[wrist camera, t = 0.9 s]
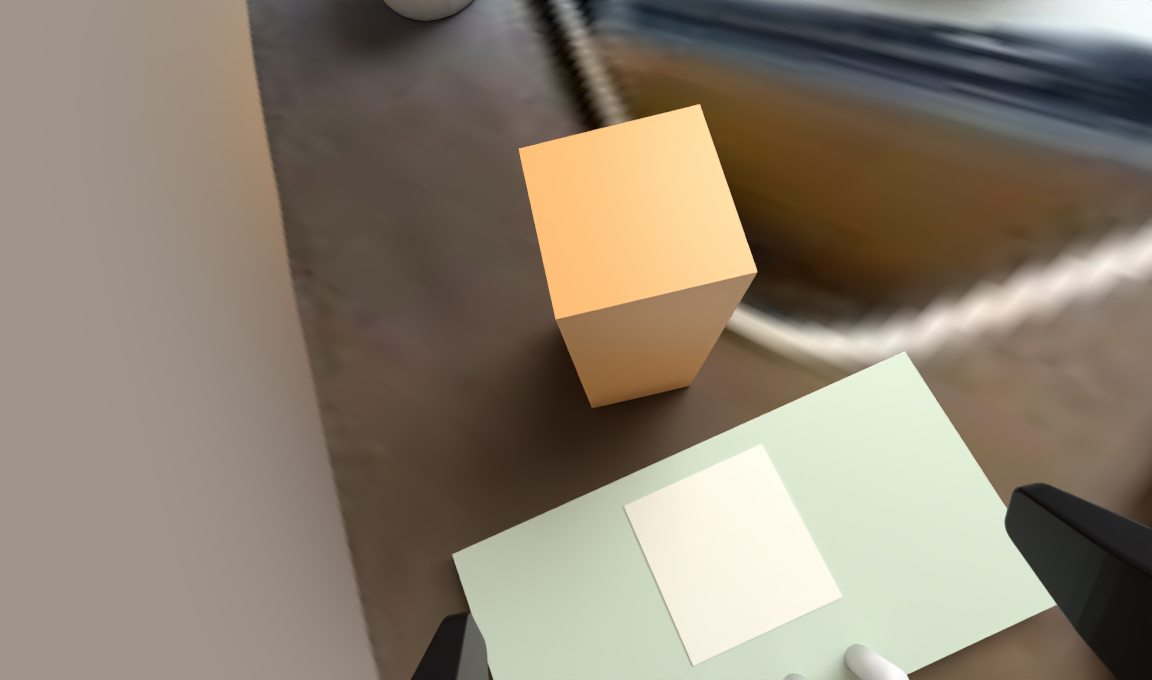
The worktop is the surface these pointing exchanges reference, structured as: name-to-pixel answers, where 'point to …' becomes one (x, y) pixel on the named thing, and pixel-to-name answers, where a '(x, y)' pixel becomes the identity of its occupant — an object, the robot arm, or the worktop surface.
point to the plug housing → (638, 250)
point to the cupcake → (427, 8)
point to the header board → (765, 553)
